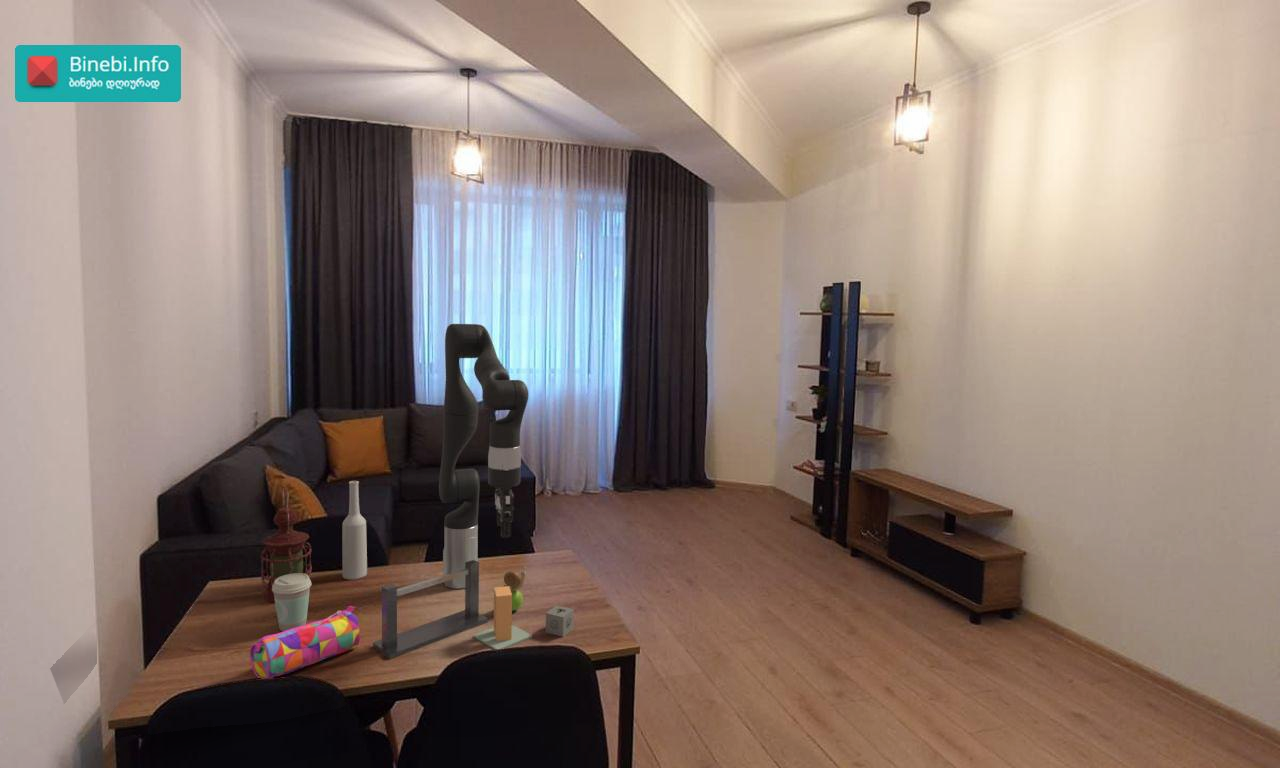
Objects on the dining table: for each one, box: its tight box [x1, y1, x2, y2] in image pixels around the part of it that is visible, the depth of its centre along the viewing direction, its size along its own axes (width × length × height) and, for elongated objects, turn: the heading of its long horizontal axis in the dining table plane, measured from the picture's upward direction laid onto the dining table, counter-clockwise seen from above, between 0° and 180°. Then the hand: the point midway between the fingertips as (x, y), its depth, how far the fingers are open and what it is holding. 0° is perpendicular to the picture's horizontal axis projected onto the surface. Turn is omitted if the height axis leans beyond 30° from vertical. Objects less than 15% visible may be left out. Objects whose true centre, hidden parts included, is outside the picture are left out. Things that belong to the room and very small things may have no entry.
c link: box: [493, 586, 513, 641], centre depth 158 cm, size 5×4×11 cm, turn 18°
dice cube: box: [545, 605, 575, 638], centre depth 163 cm, size 5×5×5 cm
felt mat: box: [472, 624, 533, 651], centre depth 159 cm, size 10×10×1 cm
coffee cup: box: [272, 573, 312, 632], centre depth 160 cm, size 8×8×12 cm
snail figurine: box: [503, 566, 527, 612], centre depth 173 cm, size 5×6×12 cm
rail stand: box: [372, 560, 489, 660], centre depth 158 cm, size 8×26×15 cm, turn 138°
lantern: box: [259, 484, 313, 603], centre depth 177 cm, size 12×12×30 cm
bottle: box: [341, 480, 368, 580], centre depth 192 cm, size 7×7×28 cm
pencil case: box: [249, 605, 361, 679], centre depth 144 cm, size 22×9×9 cm, turn 146°
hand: (503, 531), depth 156 cm, fingers open, 8 cm apart
